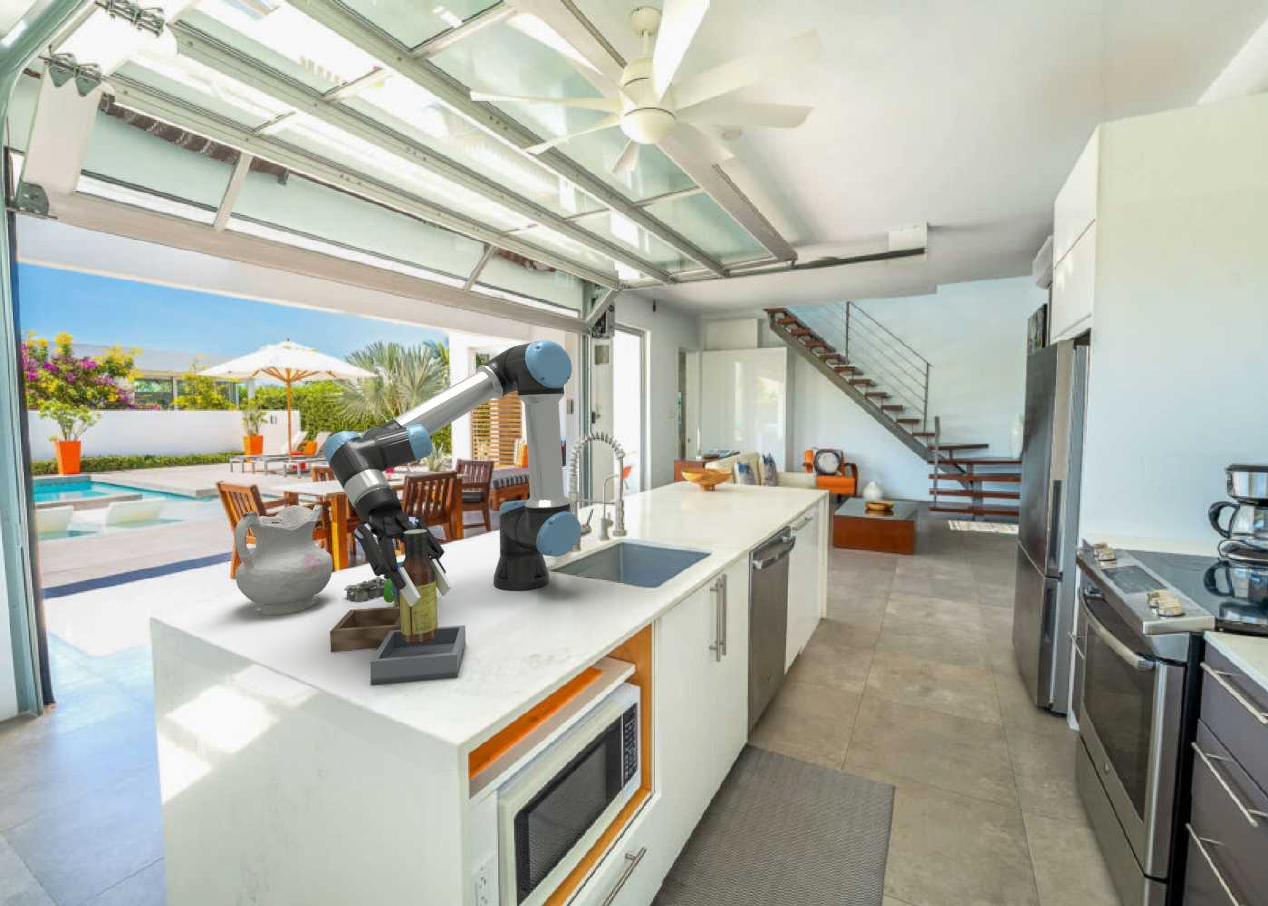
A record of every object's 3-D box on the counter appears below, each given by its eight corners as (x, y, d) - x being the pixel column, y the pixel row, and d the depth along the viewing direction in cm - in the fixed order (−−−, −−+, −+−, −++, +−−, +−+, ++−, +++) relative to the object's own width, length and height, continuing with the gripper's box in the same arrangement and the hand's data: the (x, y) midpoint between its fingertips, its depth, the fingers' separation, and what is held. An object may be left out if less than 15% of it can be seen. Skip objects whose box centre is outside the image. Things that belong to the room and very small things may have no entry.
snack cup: (401, 620, 120) (400, 576, 120) (368, 613, 125) (367, 570, 124) (451, 600, 134) (451, 560, 134) (420, 594, 139) (419, 555, 138)
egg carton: (358, 604, 132) (358, 588, 131) (341, 599, 135) (341, 583, 135) (396, 593, 140) (396, 578, 140) (379, 588, 144) (379, 574, 144)
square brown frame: (411, 623, 118) (411, 605, 118) (399, 646, 106) (398, 626, 106) (350, 627, 116) (350, 609, 116) (330, 651, 104) (330, 631, 104)
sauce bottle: (443, 632, 101) (443, 528, 100) (427, 646, 95) (427, 534, 94) (410, 631, 102) (409, 527, 101) (392, 644, 96) (391, 533, 95)
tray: (465, 644, 107) (465, 625, 107) (457, 677, 93) (457, 654, 93) (390, 650, 104) (390, 630, 104) (370, 685, 91) (370, 661, 90)
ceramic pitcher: (293, 630, 117) (299, 517, 116) (203, 623, 117) (208, 510, 116) (345, 599, 139) (351, 503, 137) (270, 593, 138) (275, 497, 137)
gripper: (408, 505, 113) (463, 594, 106) (315, 518, 97) (373, 625, 89) (424, 481, 110) (482, 571, 103) (332, 491, 94) (393, 599, 86)
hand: (431, 596), depth 96 cm, fingers closed on sauce bottle, 6 cm apart
